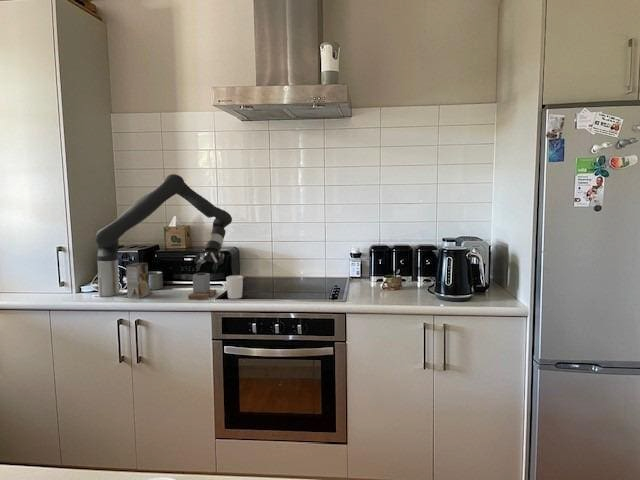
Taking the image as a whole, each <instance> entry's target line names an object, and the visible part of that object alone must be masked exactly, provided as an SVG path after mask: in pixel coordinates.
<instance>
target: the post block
mask: <svg viewBox="0 0 640 480" xmlns="http://www.w3.org/2000/svg"><path fill="white" fill-rule="evenodd" d="M216 294H217V289H212V288H210V292H208V293H206V294H193V292H192V293H190V294H188V295H187V299H188V300H192V301H193V300H198V301H205V300H206V299H209V298H210V297H212V296H215V295H216Z"/></svg>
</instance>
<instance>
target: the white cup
mask: <svg viewBox="0 0 640 480" xmlns="http://www.w3.org/2000/svg"><path fill="white" fill-rule="evenodd" d="M243 279H244V276H242V275H228V276H226V277H225V280H226V281H225V282H226V292H227V298H228V299H230V300H231V299H232V300H235V299H237V300H239V299H242V298H243V287H244V286H243V284H244V280H243Z"/></svg>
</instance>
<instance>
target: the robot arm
mask: <svg viewBox="0 0 640 480" xmlns="http://www.w3.org/2000/svg"><path fill="white" fill-rule="evenodd" d="M175 195H178V196H180V197H181V198H182V199H184V200H185V201H187V202H188V203H189V204H191V206H193V207H194V208H195V209H196V210H197V211H199V212H200V213H201V214H203V215H204V216H205V217H206V218H208V219H211V218H214V220H213V223H212V231H211V233H210V236H209V237H208V239H207V242H206V245H205V248H204V252H200V251H198V252H197V253H196V256H195V257H194V263H195V264H196V265H195V269H196V271H197V272H198V271H200V270H201V266H202V264H204V263H205V262H214V263H213V265H212V268H211V269H212V272H216V271H217V269H218V266H219V265H223V263H224V260H225V254H224V252H222V251H221V249H222V246H223V243H224V239H225V236H226V229H225V228H226V227H228V226H229V225H230V224H231V223H232V222H233V217H232V216H231V214H230V213H229V212H227V211H226V210H224V209H221V208H220V207H217V206H216V205H214V204H213V203H212V202H210V201H209V200H208V199H206V198H205V197H204V196H202V195H200V194H199V193H198V192H196V191H195V190H193V189H192V188H190V186H189V185H188V184H187V183H186V182H185V180H184V178H183V177H182V176H180V175H179V174H175V173H172V174H168V175H167V176H166V177H165V179H164V181H163V183H161V184H160V185H159V186H157V188H155V189H154V190H153V191H150V192H149V193H147V194H145V195H144V196H142V197H140V198H139V199H137V201H135V202H133V203H132V204H131V205H130V206H129V207H128V208H127V209H126V210H125V211H124V212H122V214H120V215H119V216H118V217H117V218H116V219H115V220H114V221H113V222H111V223H109V224H108V225H106V226H104V227H103V228H101V229H99V230H98V231H97V232H96V234H95V238H94V239H95V242H96V244H97V256H96V257H97V258H96V260H97V261H96V262H97V284H98V295H99V297H111V296H117V295H119V294H120V277H119V273H120V272H119V239H120V238H121V237H122V236H124V234H125V233H126V232H128V231H129V230H130V229H132V228H134V227H135V226H138V225H139V224H140V223H142V222H143V221H145V220H146V219H147V218H149V217H150V216H151V215H152V214H153V213H154V212H156V210H157V209H159V208H160V207H161V205H163V204H164V203H165V202H166V201H167V200H169V199H170V198H172V197H173V196H175ZM217 258H218V259H217Z"/></svg>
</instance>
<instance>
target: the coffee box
mask: <svg viewBox="0 0 640 480" xmlns="http://www.w3.org/2000/svg"><path fill="white" fill-rule="evenodd" d="M125 270H126V273H125V274H126V291H127V292H126V293H127V299H137V300H138V299H141V298H143V297H144V298H145V297H146V296H149V295H150V280H149V279H150V276H149V275H150V274H149V263H148V262H134V263H130V264H125Z"/></svg>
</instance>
